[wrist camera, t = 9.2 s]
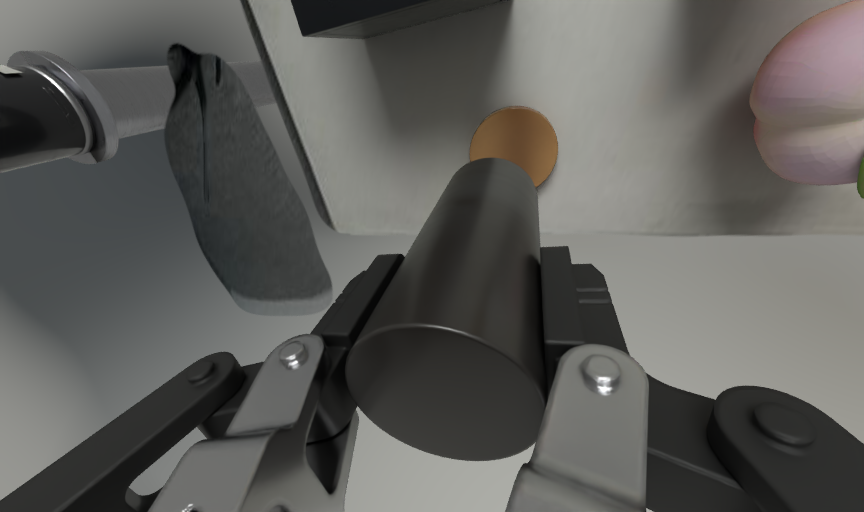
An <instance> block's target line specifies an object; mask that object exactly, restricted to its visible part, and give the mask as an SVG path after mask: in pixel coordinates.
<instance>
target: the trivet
mask: <svg viewBox="0 0 864 512" xmlns="http://www.w3.org/2000/svg"><path fill="white" fill-rule="evenodd" d="M557 155H558V142H557V137H556V134H555V131H554V129H553V127H552V125H551V123H550V122H549V121H548V119H547V118H546V117H545V116H543V115H542V114H541V113H539V112H538V111H536V110H534V109H531V108H528V107H524V106H509V107H505V108H502V109H500V110H497V111H495V112H494V113H492V114H491V115H489V116H488V117H487V118H486V119H485V120H484V121H483V122H482V123H481V124H480V125H479V127H478V129H477V130H476V132H475V134H474V136H473V138H472V141H471V145H470V162H472V161H474V160H477V159H482V158H501V159H505V160H508V161H511V162H513V163H515V164H516V165H518V166H519V167H521V168H522V169H523V170H524V171H525V172H526V173H527V174H528V175H529V176H530V178H531V179H532V181H533V183H534V185H535V187H537V186H539V185H540V184H541V183H542V182H543V181H544V180H545V179H546V178H547V177H548V176H549V174H550V173H551V171H552V170H553V168H554V166H555V163H556V160H557Z"/></svg>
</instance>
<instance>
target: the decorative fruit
mask: <svg viewBox="0 0 864 512" xmlns="http://www.w3.org/2000/svg"><path fill="white" fill-rule="evenodd" d="M749 103H750V107H751V109H752V111H753V113H754V115H755V117H756V120H755V124H754V129H753V133H754V139H755V142H756V145H757V148H758V150H759V153H760V155H761V157H762V159H763V160H764V162H765V163H766V165H767V166H768V167H769V168H770V169H771V170H772V171H773V172H774V173H776V174H777V175H779V176H780V177H782V178H784V179H786V180H789V181H793V182H796V183H801V184H809V185H838V184H848V183H856V182H857V190H858V193H859V194H860V196H861V198H864V0H855V1H851V2H848V3H845V4H842V5H838V6H836V7H833V8H830V9H828V10H826V11H823V12H821V13H819V14H817V15H815V16H813V17H811V18H809V19H808V20H806V21H804V22H803V23H801V24H800V25H798V26H797V27H796V28H794V29H793V30H792V31H791V32H789V33H788V34H787V35H786V36H785V37H783V38H782V39H781V40H780V41H779V42H778V43H777V44H776V46H775V47H774V48H773V49H772V50H771V52H770V53H769V54H768V55H767V57H766V58H765V60H764V61H763V63H762V65H761V66H760V68H759V70H758V72H757V75H756V77H755V80H754V83H753V87H752V90H751V94H750V99H749Z"/></svg>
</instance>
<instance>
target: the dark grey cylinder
mask: <svg viewBox="0 0 864 512" xmlns="http://www.w3.org/2000/svg"><path fill="white" fill-rule="evenodd" d="M345 379H346V383H347V387H348V389H349V392H350V394H351V396H352V398H353V400H354V401H355V403H356V404H357V406H358V407H359V408H360V409H361V411H362V412H363V413H364V414H365V415H366V416H367V417H368V418H369V419H370V420H371V421H372V422H373V423H374V424H376V425H377V426H378V427H379V428H381V429H382V430H383V431H385V432H386V433H388V434H389V435H391V436H392V437H394V438H396V439H398V440H399V441H401V442H403V443H405V444H407V445H410V446H412V447H414V448H417V449H419V450H422V451H424V452H427V453H430V454H434V455H438V456H442V457H446V458H451V459H457V460H466V461H489V460H496V459H502V458H506V457H510V456H513V455H516V454H518V453H521V452H522V451H524V450H526V449H528V448H529V447H531V446H532V445H533V444H534V443H535V442H536V440H537V437H538V433H539V430H540V426H541V423H542V419H543V416H544V412H545V409H546V406H547V402H548V384H547V377H546V370H545V349H544V328H543V307H542V286H541V265H540V232H539V213H538V197H537V191H536V187H535V185H534V183H533V181H532V179H531V178H530V176H529V175H528V174H527V173H526V172H525V171H524V170H523V169H522V168H521V167H519V166H518V165H516V164H515V163H513V162H511V161H508V160H505V159H501V158H482V159H477V160H474V161H472V162H470V163H468V164H466V165H464V166H463V167H461V168H460V169H459V170H458V171H457V172H456V173H455V174H454V176H453V177H452V179H451V180H450V182H449V183H448V185H447V187H446V189H445V190H444V192H443V194H442V195H441V197H440V199H439V200H438V202H437V204H436V206H435V207H434V209H433V211H432V212H431V214H430V216H429V217H428V219H427V221H426V222H425V224H424V226H423V228H422V229H421V231H420V233H419V234H418V236H417V238H416V240H415V241H414V243H413V245H412V246H411V248H410V250H409V251H408V253H407V255H406V256H405V258H404V260H403V262H402V263H401V265H400V267H399V268H398V270H397V272H396V273H395V275H394V277H393V279H392V280H391V282H390V284H389V285H388V287H387V289H386V290H385V292H384V294H383V295H382V297H381V299H380V301H379V302H378V304H377V306H376V307H375V309H374V311H373V312H372V314H371V316H370V318H369V319H368V321H367V323H366V324H365V326H364V328H363V329H362V331H361V333H360V335H359V336H358V338H357V340H356V341H355V343H354V345H353V346H352V348H351V350H350V352H349V354H348V357H347V359H346V365H345Z"/></svg>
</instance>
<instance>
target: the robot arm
mask: <svg viewBox="0 0 864 512" xmlns="http://www.w3.org/2000/svg"><path fill="white" fill-rule="evenodd" d="M94 145H95V131H94V127H93V124H92V121H91V119H90V117H89V115H88V113H87V111H86V109H85V107H84V106H83V104H82V103H81V101H80V100H79V99H78V97H77V96H76V95H75V94H74V92H73V91H72V90H71V89H70V88H69V87H68V86H67V85H66V84H65V83H64V82H63V81H62V80H61V79H59V78H58V77H57V76H55V75H54V74H53V73H51V72H50V71H48V70H46V69H44V68H42V67H39V66H35V65H16V66H13V67H6V66H4V65H1V64H0V173H2V172H6V171H10V170H14V169H18V168H23V167H26V166H31V165H35V164H39V163H43V162H48V161H52V160H56V159H61V158H64V157H69V156H77V155H81V154H86V153H88V152H90V151H91V150H92V149H93V148H94ZM404 258H405V257H404V256H403V255H402V254H386V255H378V256H377V257H376V258H375V259H374V261H373V262H372V264H371V265H370V266H369V268H368V269H367V270H366V271H363V272H361V273H360V274H359V275H357V276H356V277H355V278H353V279H352V280H351V281H350V282H349V283H348V285H347V286H346V287H345V289H344V290H343V293H342V294H340V295H339V297H338V298H337V299H336V302H335V303H333V304H332V306H331V307H330V308H329V310H328V311H327V312H326V314H325V315H324V316H323V317H322V319H321V320H320V322H319V323H318V324H317V325H316V327H315V328H314V329H313V331H312V332H311V333H310V334H303V335H299V336H296V337H293V338H291V339H288V340H287V341H285V342H283V343H282V344H280V345H279V346H277V347H276V348H275V349H274V350H273V351H272V352H271V353H270V354H269V355H268V357H267V359H266V360H265V362H260V363H256V364H252V365H247V366H243V367H241V366H240V364H239V363H238V361H237V360H236V359H235V357H234V356H233V355H232V354H231V353H229V352H218V353H214V354H211V355H208V356H206V357H204V358H202V359H200V360H198V361H196V362H195V363H193V364H192V365H190V366H189V367H187V368H186V369H185V370H183V371H182V372H180V373H179V374H178V375H176V376H175V377H173V378H172V379H171V380H169V381H168V382H166V383H165V384H163V385H162V386H161V387H159V388H158V389H156V390H155V391H154V392H152V393H151V394H150V395H148V396H147V397H145V398H144V399H142V400H141V401H140V402H138V403H137V404H135V405H134V406H133V407H131V408H130V409H128V410H127V411H126V412H124V413H123V414H121V415H120V416H119V417H117V418H116V419H114V420H113V421H112V422H110V423H109V424H107V425H106V426H105V427H103V428H102V429H100V430H99V431H98V432H96V433H95V434H93V435H92V436H90V437H89V438H88V439H87V440H85V441H83V442H82V443H81V444H79V445H78V446H77V447H75V448H74V449H72V450H71V451H70V452H68V453H67V454H65V455H64V456H63V457H61V458H60V459H58V460H57V461H55V462H54V463H53V464H51V465H50V466H48V467H47V468H46V469H44V470H43V471H41V472H40V473H39V474H37V475H36V476H34V477H33V478H31V479H30V480H29V481H27V482H26V483H25V484H23V485H22V486H20V487H19V488H17V489H16V490H15V491H13V492H12V493H10V494H9V495H8V496H6V497H5V498H3V499H2V500H1V501H0V512H344V501H345V494H346V488H347V483H348V477H349V472H350V467H351V461H352V456H353V451H354V446H355V440H356V435H357V430H358V424H359V416H358V413H357V411H356V408H357V404H356V403H355V401H354V400H353V398H352V396H351V394H350V392H349V389H348V387H347V383H346V379H345V365H346V359H347V357H348V354H349V352H350V350H351V348H352V346H353V345H354V343H355V341H356V340H357V338H358V336H359V335H360V333H361V331H362V329H363V328H364V326H365V324H366V323H367V321H368V319H369V318H370V316H371V314H372V312H373V311H374V309H375V307H376V306H377V304H378V302H379V301H380V299H381V297H382V295H383V294H384V292H385V290H386V289H387V287H388V285H389V284H390V282H391V280H392V279H393V277H394V275H395V273H396V272H397V270H398V268H399V267H400V265H401V263H402V262H403V260H404ZM540 265H541V286H542V307H543V328H544V349H545V370H546V377H547V384H548V402H547V406H546V409H545V412H544V416H543V419H542V423H541V426H540V430H539V433H538V437H537V440H536V444H535V448H534V451H533V454H532V457H531V459H530V461H529V462H528V463H525V464H523V465H522V467H521V468H520V470H519V472H518V474H517V477H516V480H515V482H514V485H513V488H512V492H511V495H510V498H509V501H508V504H507V508H506V511H505V512H646V508H648V509H650V510H652V511H654V512H864V444H863V443H861V442H860V441H859V440H858V439H857V438H855V437H854V436H853V435H852V434H850V433H849V432H848V431H847V430H845V429H844V428H843V427H842V426H841V425H839V424H838V423H836V422H835V421H834V420H833V419H832V418H830V417H829V416H828V415H826V414H825V413H823V412H822V411H821V410H819V409H817V408H816V407H814V406H812V405H811V404H809V403H807V402H805V401H803V400H801V399H799V398H796V397H794V396H791V395H789V394H787V393H784V392H780V391H777V390H774V389H769V388H765V387H758V386H737V387H733V388H729V389H727V390H725V391H723V392H722V393H721V394H720V395H719V396H718V397H717V399H716V400H714V399H711V398H708V397H704V396H701V395H697V394H694V393H691V392H687V391H684V390H681V389H677V388H675V387H672V386H669V385H667V384H664V383H662V382H660V381H658V380H656V379H655V378H653V377H651V376H650V375H648V374H647V373H646V372H645V371H644V369H643V368H642V366H641V365H639V363H638V362H637V361H636V360H634V358H632V357H631V356H630V355H629V352H628V350H627V347H626V343H625V341H624V337H623V334H622V331H621V328H620V325H619V322H618V319H617V315H616V313H615V309H614V306H613V304H612V300H611V297H610V293H609V292H608V287H607V284H606V281H605V278H604V275H603V274H602V273H601V272H600V271H598V270H597V269H596V268H595V267H594V266H593V265H592V264H572V263H571V258H570V253H569V248H568V246H559V247H540ZM196 427H198V429H199V430H200V431H201V432H202V433H203V434H204V435H205V437H206V438H207V439H205V440H201V441H199V442H197V443H195V444H194V445H193V446H191V447H190V448H189V449H188V450H187V452H186V453H185V454H184V455H183V457H182V458H181V460H180V461H179V463H178V464H177V466H176V468H175V469H174V471H173V472H172V474H171V476H170V477H169V479H168V480H167V482H166V483H165V485H164V486H163V487H162V488H161V489H159V490H158V491H156V492H155V493H153V494H150V495H145V496H141V495H138V494H136V493H135V492H134V491H133V490H131V489H130V488H129V486H130V484H131V483H132V481H134V479H136V478H137V476H139V475H140V474H141V473H142V472H143V471H145V470H146V469H147V468H148V467H149V466H151V465H152V464H153V463H154V462H155V461H157V460H158V459H159V458H160V457H161V456H162V455H164V454H165V453H166V452H167V451H168V450H170V449H171V448H172V447H173V446H174V445H175V444H177V443H178V442H179V441H180V440H181V439H182V438H184V437H185V436H186V435H187V434H188V433H190V432H191V431H192V430H193V429H194V428H196Z"/></svg>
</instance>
